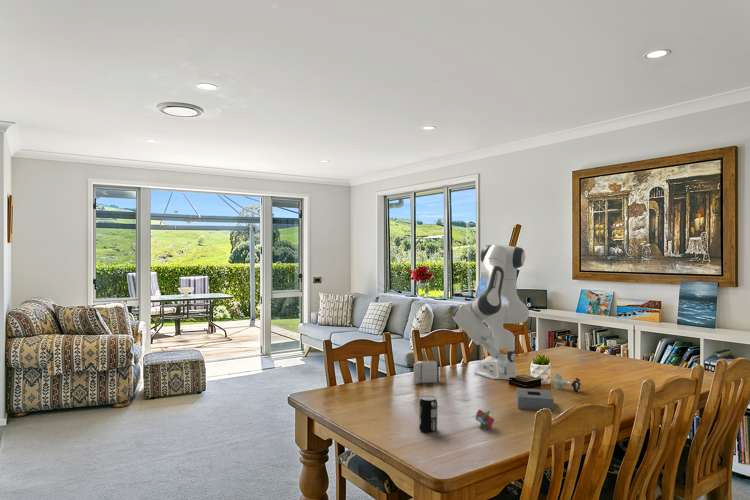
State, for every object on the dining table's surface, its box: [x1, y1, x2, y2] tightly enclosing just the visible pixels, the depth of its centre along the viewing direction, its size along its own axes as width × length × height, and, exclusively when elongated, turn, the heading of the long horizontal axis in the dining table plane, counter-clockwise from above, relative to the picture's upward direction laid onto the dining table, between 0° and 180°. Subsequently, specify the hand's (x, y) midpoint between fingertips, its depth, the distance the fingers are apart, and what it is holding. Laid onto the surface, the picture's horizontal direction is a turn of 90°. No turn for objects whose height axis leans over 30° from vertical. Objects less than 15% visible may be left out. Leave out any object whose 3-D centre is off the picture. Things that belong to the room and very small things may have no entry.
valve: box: [552, 373, 582, 393], centre depth 241 cm, size 7×7×12 cm
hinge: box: [413, 360, 440, 385], centre depth 254 cm, size 14×5×10 cm, turn 106°
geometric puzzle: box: [475, 409, 495, 430], centre depth 188 cm, size 7×7×8 cm
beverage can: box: [418, 394, 438, 434], centre depth 185 cm, size 7×7×12 cm
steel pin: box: [499, 348, 507, 375], centre depth 219 cm, size 4×4×11 cm
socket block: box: [515, 387, 554, 412], centre depth 216 cm, size 14×14×5 cm
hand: (504, 359), depth 219 cm, fingers closed on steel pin, 4 cm apart
